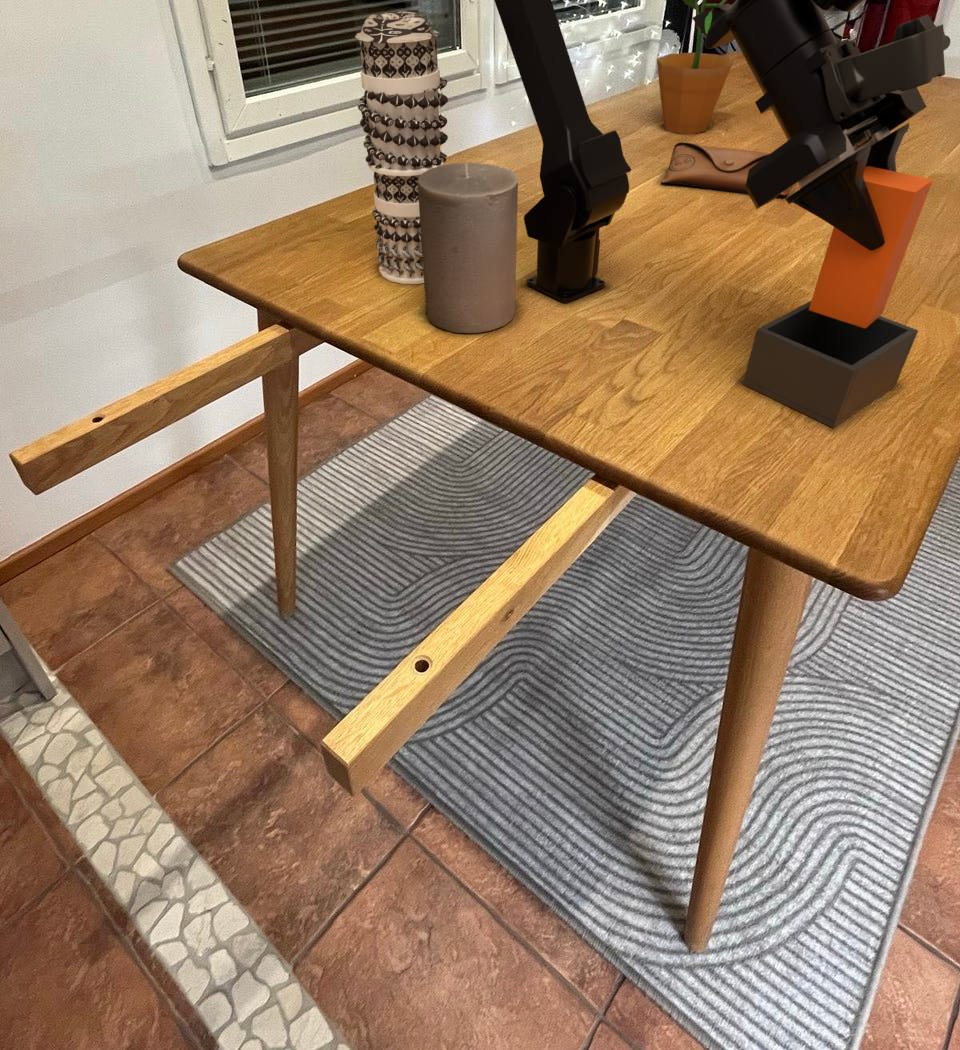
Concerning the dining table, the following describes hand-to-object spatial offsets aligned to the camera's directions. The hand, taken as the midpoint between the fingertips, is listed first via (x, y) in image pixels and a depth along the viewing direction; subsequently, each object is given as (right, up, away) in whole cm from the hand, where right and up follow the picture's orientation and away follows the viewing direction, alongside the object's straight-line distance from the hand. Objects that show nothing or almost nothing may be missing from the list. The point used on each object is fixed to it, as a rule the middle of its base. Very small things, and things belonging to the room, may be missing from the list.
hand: (888, 240), depth 59 cm
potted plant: (+3, +46, +70) cm, 84 cm away
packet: (-1, -4, +5) cm, 7 cm away
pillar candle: (-33, 0, +21) cm, 39 cm away
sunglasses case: (+3, +27, +50) cm, 57 cm away
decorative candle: (-40, +8, +30) cm, 50 cm away
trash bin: (-1, -10, +9) cm, 14 cm away
